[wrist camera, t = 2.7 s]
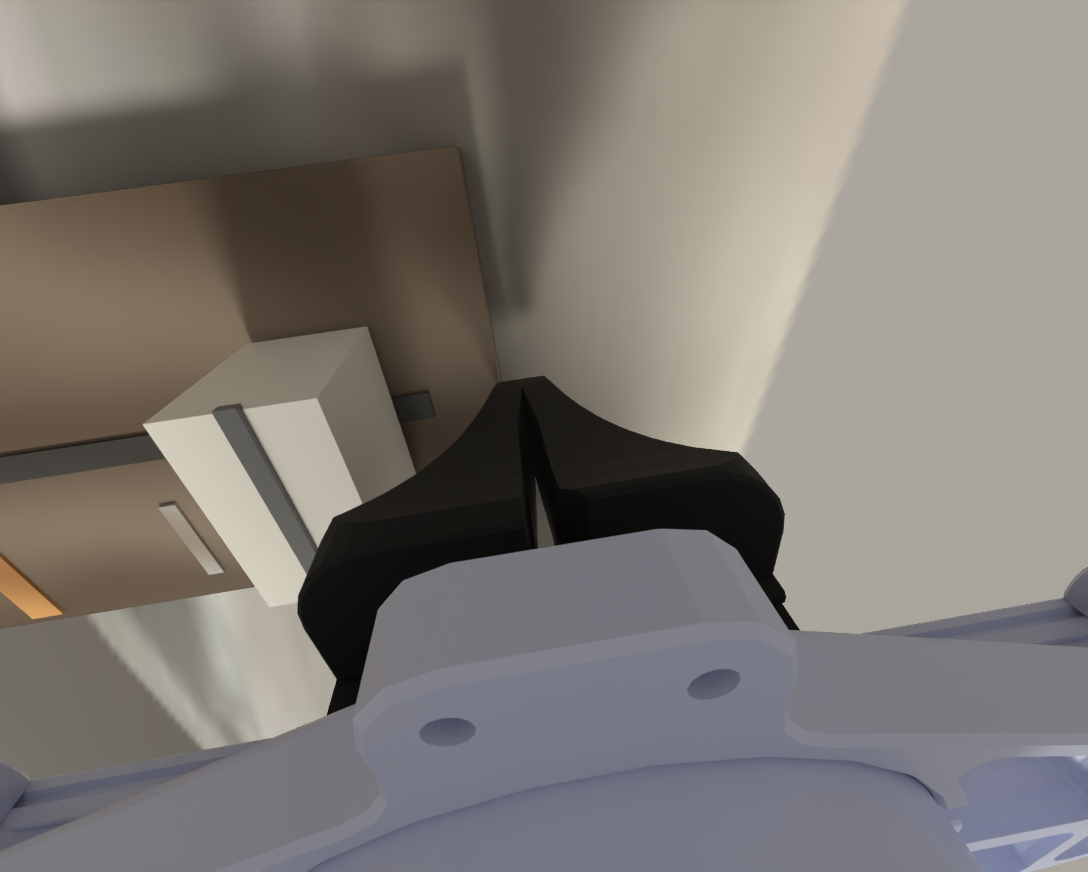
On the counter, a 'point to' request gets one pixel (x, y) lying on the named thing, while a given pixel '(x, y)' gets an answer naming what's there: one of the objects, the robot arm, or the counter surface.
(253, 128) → the counter surface
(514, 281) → the counter surface
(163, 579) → the fader console
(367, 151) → the counter surface
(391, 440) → the fader knob
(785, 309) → the counter surface
